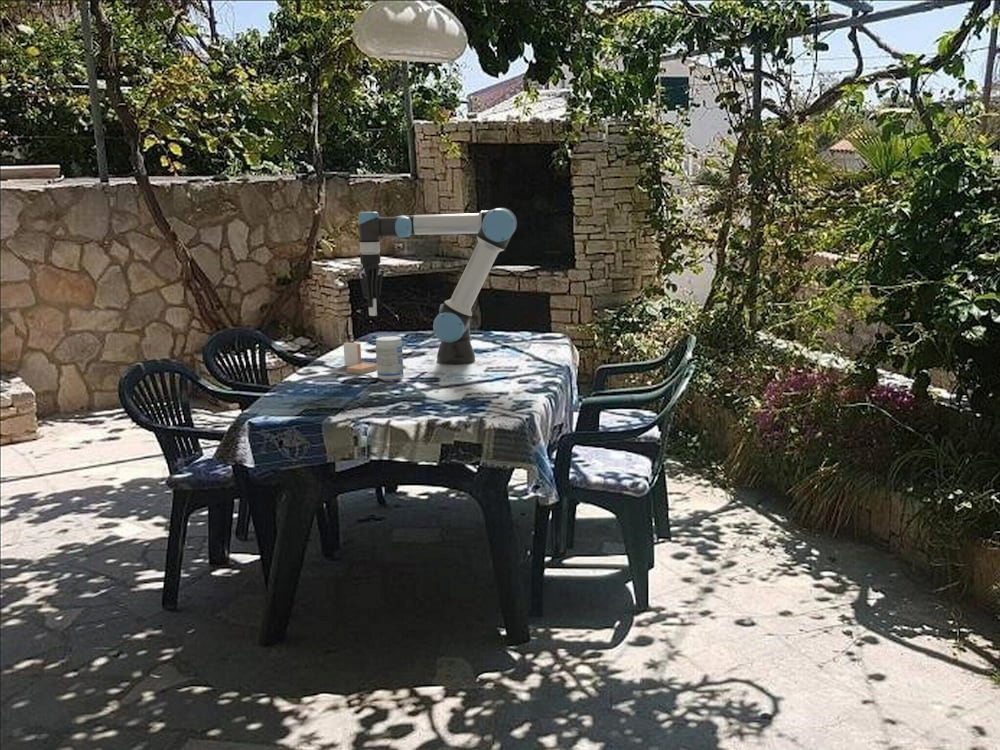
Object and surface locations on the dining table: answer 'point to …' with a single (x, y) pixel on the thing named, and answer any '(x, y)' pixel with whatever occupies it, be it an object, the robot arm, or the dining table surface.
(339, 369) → the mat
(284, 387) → the dining table surface
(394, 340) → the supplement tub
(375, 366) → the tan rectangular block
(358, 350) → the tan flat block
